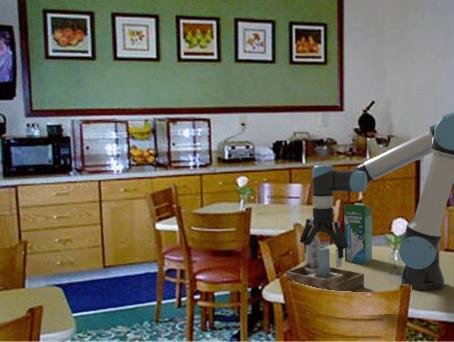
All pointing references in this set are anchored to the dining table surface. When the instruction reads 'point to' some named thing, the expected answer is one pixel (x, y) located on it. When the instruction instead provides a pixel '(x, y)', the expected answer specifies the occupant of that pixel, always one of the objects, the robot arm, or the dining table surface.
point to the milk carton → (358, 233)
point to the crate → (329, 279)
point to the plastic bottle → (313, 256)
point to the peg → (324, 263)
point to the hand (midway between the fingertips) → (323, 264)
